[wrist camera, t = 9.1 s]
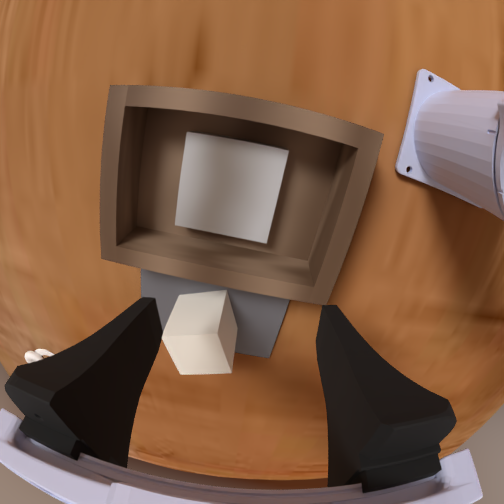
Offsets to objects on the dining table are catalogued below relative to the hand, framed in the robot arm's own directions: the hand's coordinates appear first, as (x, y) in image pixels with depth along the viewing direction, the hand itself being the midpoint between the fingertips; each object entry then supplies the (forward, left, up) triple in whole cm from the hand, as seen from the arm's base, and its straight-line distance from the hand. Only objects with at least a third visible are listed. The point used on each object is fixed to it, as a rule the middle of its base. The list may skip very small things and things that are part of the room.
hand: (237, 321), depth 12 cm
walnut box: (+2, -3, -9) cm, 10 cm away
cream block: (+2, +7, -9) cm, 12 cm away
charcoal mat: (+2, +8, -9) cm, 12 cm away
